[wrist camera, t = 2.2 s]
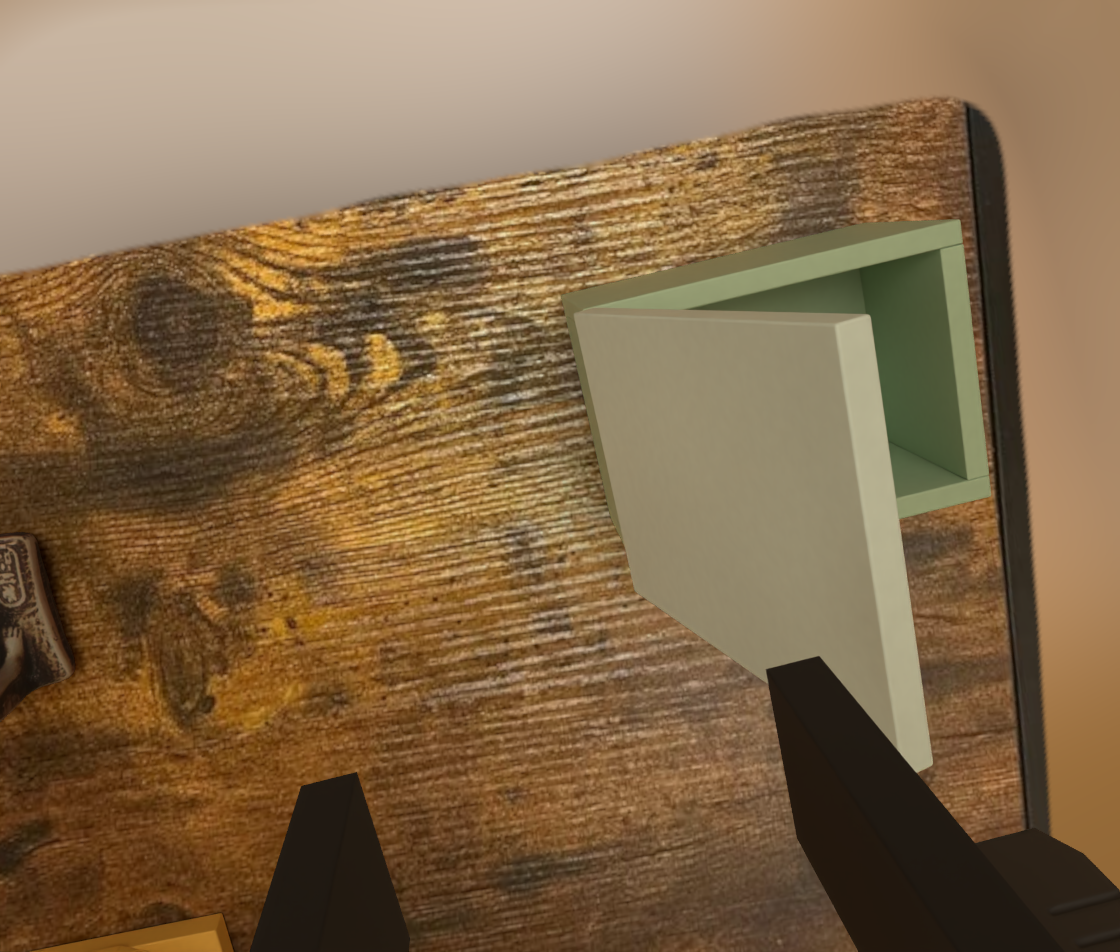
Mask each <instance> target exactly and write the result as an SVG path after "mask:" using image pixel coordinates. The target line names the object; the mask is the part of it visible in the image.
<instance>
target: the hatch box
mask: <svg viewBox="0 0 1120 952" xmlns="http://www.w3.org/2000/svg"><path fill="white" fill-rule="evenodd" d="M962 242H963V241H962V232H961V223H960V220H958V219H954V220H928V221H902V222H875V223H861V224H857V225H853V226H849V227H844V228H840V229H836V230H832V231H828V232H823V233H819V234H815V235H811V236H807V237H802V238H798V239H794V240H790V241H786V242H781V243H777V244H773V245H769V246H765V247H760V248H756V249H752V250H748V251H743V252H739V253H735V254H731V255H727V256H722V257H718V258H714V259H710V260H706V261H701V262H697V263H693V264H689V265H685V266H680V267H676V268H672V269H668V270H664V271H659V272H655V273H651V274H647V275H643V276H638V277H634V278H630V279H626V280H622V281H617V282H613V283H609V284H605V285H601V286H596V287H592V288H588V289H584V290H579V291H575V292H571V293H567V294H563V295H561V299H562V303H563V308H564V312H565V317H566V321H567V326H568V330H569V335H570V339H571V344H572V348H573V352H574V357H575V361H576V366H577V370H578V375H579V379H580V384H581V388H582V393H583V397H584V402H585V406H586V411H587V415H588V420H589V424H590V429H591V433H592V437H593V442H594V446H595V451H596V455H597V460H598V464H599V469H600V473H601V478H602V482H603V487H604V491H605V496H606V500H607V505H608V509H609V514H610V518H611V520H612V522H613V524H614V526H615V528H616V530H617V532H618V534H619V536H620V538H621V540H622V542H623V544H624V541H623V536H622V532H621V527H620V523H619V518H618V514H617V509H616V505H615V500H614V496H613V491H612V486H611V482H610V477H609V473H608V468H607V464H606V459H605V455H604V450H603V446H602V441H601V437H600V432H599V428H598V423H597V419H596V414H595V410H594V405H593V401H592V396H591V392H590V387H589V382H588V378H587V373H586V369H585V364H584V360H583V355H582V351H581V346H580V342H579V337H578V333H577V328H576V324H575V319H574V313H576V312H580V311H583V310H587V309H591V308H631V309H673V310H715V311H757V312H799V313H841V314H868V315H870V317H871V322H872V329H873V336H874V344H875V351H876V358H877V365H878V372H879V379H880V387H881V394H882V401H883V408H884V415H885V422H886V430H887V437H888V444H889V451H890V458H891V465H892V473H893V480H894V487H895V494H896V501H897V508H898V516H899V519H902V518H906V517H910V516H914V515H918V514H922V513H926V512H930V511H934V510H938V509H942V508H946V507H950V506H954V505H958V504H962V503H966V502H970V501H974V500H978V499H982V498H986V497H990V496H991V490H990V481H989V476H988V475H989V470H988V461H987V452H986V443H985V434H984V425H983V417H982V408H981V399H980V390H979V381H978V372H977V363H976V354H975V345H974V336H973V327H972V318H971V309H970V300H969V292H968V283H967V274H966V265H965V256H964V247H963V244H961V243H962ZM624 546H625V545H624Z"/></svg>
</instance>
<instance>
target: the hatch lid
mask: <svg viewBox="0 0 1120 952" xmlns="http://www.w3.org/2000/svg"><path fill="white" fill-rule="evenodd" d="M574 319H575V324H576V328H577V333H578V337H579V342H580V346H581V351H582V355H583V360H584V364H585V369H586V373H587V378H588V382H589V387H590V392H591V396H592V401H593V405H594V410H595V414H596V419H597V423H598V428H599V432H600V437H601V441H602V446H603V450H604V455H605V459H606V464H607V468H608V473H609V477H610V482H611V486H612V491H613V496H614V500H615V505H616V509H617V514H618V518H619V523H620V527H621V532H622V536H623V541H624V545H625V550H626V554H627V559H628V563H629V568H630V572H631V577H632V581H633V586H634V590H635V592H636V593H638V594H639V595H641V596H642V597H643V598H645V599H646V600H648V601H649V602H651V603H652V604H654V605H655V606H656V607H658V608H659V609H661V610H662V611H664V612H665V613H666V614H668V615H669V616H671V617H672V618H674V619H675V620H676V621H678V622H679V623H681V624H682V625H684V626H685V627H687V628H688V629H689V630H691V631H692V632H694V633H695V634H697V635H698V636H699V637H701V638H702V639H704V640H705V641H707V642H708V643H710V644H711V645H712V646H714V647H715V648H717V649H718V650H720V651H721V652H722V653H724V654H725V655H727V656H728V657H730V658H731V659H733V660H734V661H735V662H737V663H738V664H740V665H741V666H743V667H744V668H745V669H747V670H748V671H750V672H751V673H753V674H754V675H755V676H757V677H758V678H760V679H761V680H763V681H764V682H766V683H767V684H768V679H767V674H766V669H769V668H773V667H777V666H781V665H785V664H788V663H792V662H796V661H800V660H804V659H808V658H812V657H816V656H820V657H821V658H822V660H823V661H824V662H825V663H826V664H827V666H828V667H829V668H830V669H831V670H832V672H833V673H834V674H835V675H836V677H837V678H838V679H839V680H840V681H841V683H842V684H843V685H844V686H845V687H846V689H847V690H848V691H849V692H850V693H851V695H852V696H853V697H854V698H855V699H856V701H857V702H858V703H859V704H860V705H861V707H862V708H863V709H864V710H865V711H866V713H867V714H868V715H869V716H870V718H871V719H872V720H873V721H874V722H875V724H876V725H877V726H878V727H879V728H880V730H881V731H882V732H883V733H884V734H885V736H886V737H887V738H888V739H889V740H890V742H891V743H892V744H893V745H894V746H895V748H896V749H897V750H898V751H899V752H900V754H901V755H902V756H903V757H904V759H905V760H906V761H907V762H908V763H909V765H910V766H911V767H912V768H913V769H914V771H915V772H916V773H917V772H919V771H922V770H924V769H926V768H928V767H930V766H932V765H933V759H932V752H931V745H930V738H929V730H928V723H927V716H926V709H925V702H924V695H923V687H922V680H921V673H920V666H919V659H918V652H917V644H916V637H915V630H914V623H913V616H912V609H911V601H910V594H909V587H908V580H907V573H906V566H905V558H904V551H903V544H902V537H901V530H900V523H899V516H898V508H897V501H896V494H895V487H894V480H893V473H892V465H891V458H890V451H889V444H888V437H887V430H886V422H885V415H884V408H883V401H882V394H881V387H880V379H879V372H878V365H877V358H876V351H875V344H874V336H873V329H872V322H871V317H870V315H868V314H841V313H799V312H757V311H715V310H673V309H631V308H591V309H587V310H583V311H580V312H576V313H574Z"/></svg>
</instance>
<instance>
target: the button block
mask: <svg viewBox="0 0 1120 952" xmlns="http://www.w3.org/2000/svg"><path fill="white" fill-rule="evenodd" d="M30 952H234V951H233V947H232V944H231V941H230V938H229V934H228V931H227V928H226V924H225V921H224V918H223V914H222V913H218V914H213V915H208V916H203V917H198V918H193V919H188V920H183V921H179V922H174V923H169V924H164V925H159V926H154V927H149V928H144V929H139V930H134V931H129V932H124V933H119V934H114V935H109V936H104V937H99V938H94V939H89V940H84V941H79V942H74V943H69V944H64V945H59V946H54V947H49V948H45V949H40V950H35V951H30Z"/></svg>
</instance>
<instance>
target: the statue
mask: <svg viewBox="0 0 1120 952" xmlns="http://www.w3.org/2000/svg"><path fill="white" fill-rule="evenodd" d="M74 671H75V660H74V656H73V652H72V650H71V647H70V645H69V643H68V640H67V638H66V636H65V633H64V630H63V627H62V623H61V619H60V616H59V612H58V609H57V606H56V603H55V601H54V597H53V594H52V591H51V587H50V583H49V578H48V575H47V572H46V569H45V567H44V564H43V560H42V557H41V554H40V550H39V545H38V542H37V540H36V538H35V537H34V536H33V535H32V534H30V533H25V532H16V533H6V534H0V722H1V721H2V720H3V719H4V718H5V717H6V716H7V715H8V714H10V713H11V712H12V711H13V710H14V709H15V708H16V706H17V705H18V704H19V703H20V702H21V701H22V700H23V699H24V698H25V697H26V696H27V695H28V694H30V693H31V692H32V691H34V690H36V689H38V688H40V687H43V686H47V685H50V684H54V683H57V682H60V681H63V680H65V679H67V678H69V677H70V676H71V675H72V674H73V673H74Z"/></svg>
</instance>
